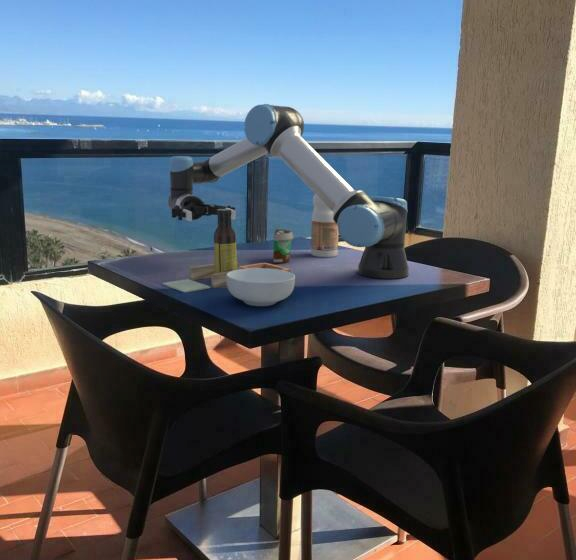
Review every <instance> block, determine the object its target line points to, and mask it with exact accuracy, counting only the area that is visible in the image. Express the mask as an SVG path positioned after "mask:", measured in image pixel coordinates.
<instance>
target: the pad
mask: <svg viewBox="0 0 576 560" xmlns="http://www.w3.org/2000/svg"><path fill="white" fill-rule="evenodd" d="M162 285H163V286H166V287H169V288H171V289H174V290H177V291H179V292H182V293H190V292H197V291H202V290H207V289H211V285H207V284H203V283H200V282H198V281H196V280H190V278H186V279H179V280H178V279H177V280H173V281H165V282H162Z"/></svg>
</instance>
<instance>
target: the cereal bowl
mask: <svg viewBox="0 0 576 560" xmlns="http://www.w3.org/2000/svg"><path fill="white" fill-rule="evenodd" d="M226 281H227V286H226V287H227V291H228V292H229V293H230V294H231V295H232V296H233V297H234V298H236V299H238V300H240V301H243V303H245V304H246V305H249V306H252V307H269V306H273V305H275V304H277V303H278V302H280V301H282V300H285V299H287V298H288V297H289V296H290V295H291V294H292V293H293V291H294V288H295V283H296V275H295V274H294V273H292V271H291V272H288V271H284V270H278V269H268V268H250V269H240V270H239V269H238V270H234V271H231V272H228V273H227V275H226Z"/></svg>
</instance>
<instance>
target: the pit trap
mask: <svg viewBox="0 0 576 560" xmlns="http://www.w3.org/2000/svg"><path fill="white" fill-rule="evenodd" d="M252 267H261V268H268V269H278V270H284V271H288V272H291V273H292V271H291V268H287V267H283V266H281V265H277V264H272V263H267V262H258V263H253V264H246V265H241V266H239V265H238V270H240V269H246V268H252Z"/></svg>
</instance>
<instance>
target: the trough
mask: <svg viewBox="0 0 576 560" xmlns="http://www.w3.org/2000/svg"><path fill="white" fill-rule="evenodd" d="M252 268H261V267H252ZM246 269H250V268H246ZM237 270H239V261H238V260H237ZM228 272H231V271H228ZM228 272H221V273H215V265H214V263H210V264H203V265H197V266H196V265H195V266H190V267H189V280H192V281H197V280H204V279H210V278H211V280H210V281H211V283H210V284H211V285H210V288H213V289H217V288H221V287H227V281H226V275H227V273H228Z"/></svg>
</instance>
